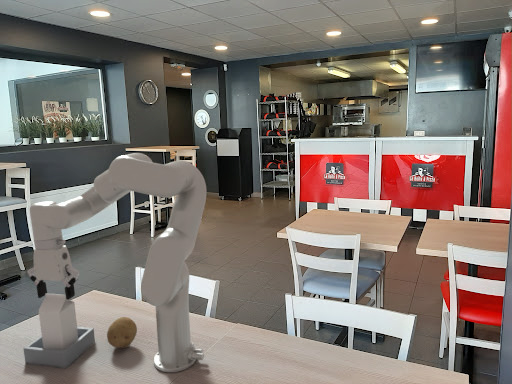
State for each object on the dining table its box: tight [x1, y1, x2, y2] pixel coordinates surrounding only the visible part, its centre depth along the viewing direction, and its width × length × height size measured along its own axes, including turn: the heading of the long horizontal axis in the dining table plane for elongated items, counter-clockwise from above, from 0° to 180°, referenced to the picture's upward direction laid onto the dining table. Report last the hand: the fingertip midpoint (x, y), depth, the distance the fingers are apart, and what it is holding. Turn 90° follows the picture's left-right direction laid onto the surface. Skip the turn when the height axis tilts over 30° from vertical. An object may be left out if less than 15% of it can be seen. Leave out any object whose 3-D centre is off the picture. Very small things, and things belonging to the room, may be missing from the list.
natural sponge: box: [106, 316, 138, 349], centre depth 125 cm, size 9×9×10 cm
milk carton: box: [38, 292, 78, 351], centre depth 122 cm, size 7×7×19 cm
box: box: [23, 326, 96, 369], centre depth 124 cm, size 14×14×5 cm
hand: (56, 296), depth 121 cm, fingers open, 9 cm apart
